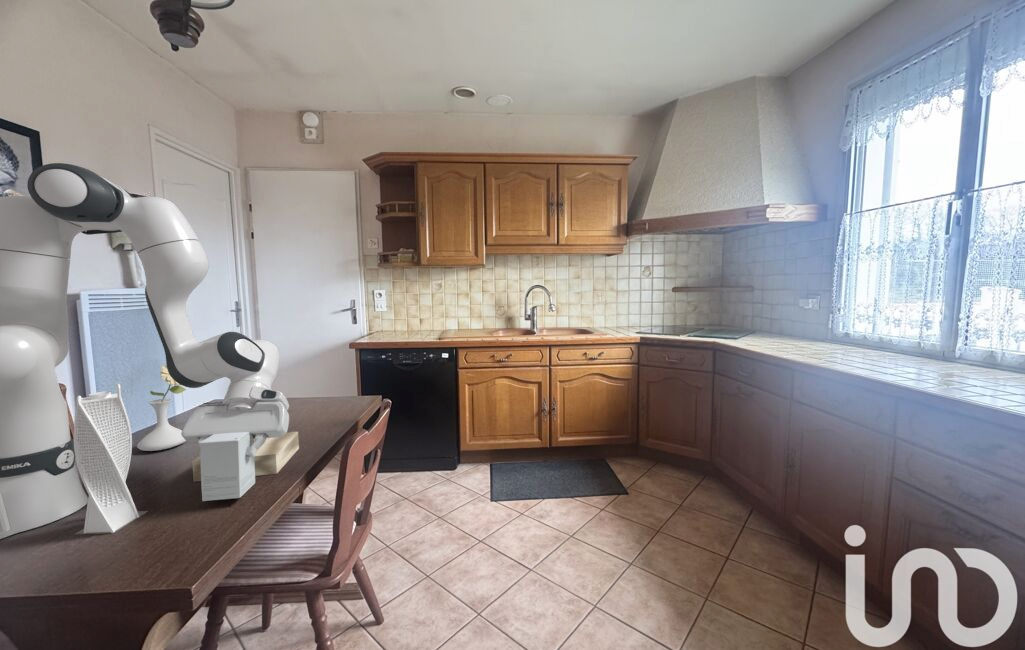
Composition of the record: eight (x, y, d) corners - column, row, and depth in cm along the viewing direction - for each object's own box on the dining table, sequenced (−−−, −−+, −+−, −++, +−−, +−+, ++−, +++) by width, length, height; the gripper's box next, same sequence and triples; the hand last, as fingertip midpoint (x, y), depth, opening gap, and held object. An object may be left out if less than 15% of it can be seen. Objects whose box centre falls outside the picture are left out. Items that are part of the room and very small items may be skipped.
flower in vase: (145, 458, 104) (137, 368, 102) (131, 449, 110) (123, 364, 108) (203, 442, 115) (196, 360, 113) (187, 435, 121) (181, 357, 119)
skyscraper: (155, 512, 78) (142, 379, 76) (115, 538, 70) (101, 389, 68) (112, 514, 78) (98, 380, 76) (68, 539, 70) (51, 390, 68)
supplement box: (256, 482, 87) (255, 428, 87) (239, 498, 80) (238, 440, 79) (220, 485, 86) (218, 430, 85) (200, 502, 79) (198, 442, 78)
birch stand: (193, 481, 91) (192, 461, 90) (228, 454, 106) (227, 436, 106) (276, 473, 94) (275, 454, 94) (299, 448, 110) (298, 431, 110)
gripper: (190, 396, 86) (163, 455, 78) (289, 392, 91) (274, 447, 82) (202, 409, 91) (178, 467, 82) (296, 405, 95) (283, 459, 86)
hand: (227, 457), depth 82 cm, fingers closed on supplement box, 7 cm apart
